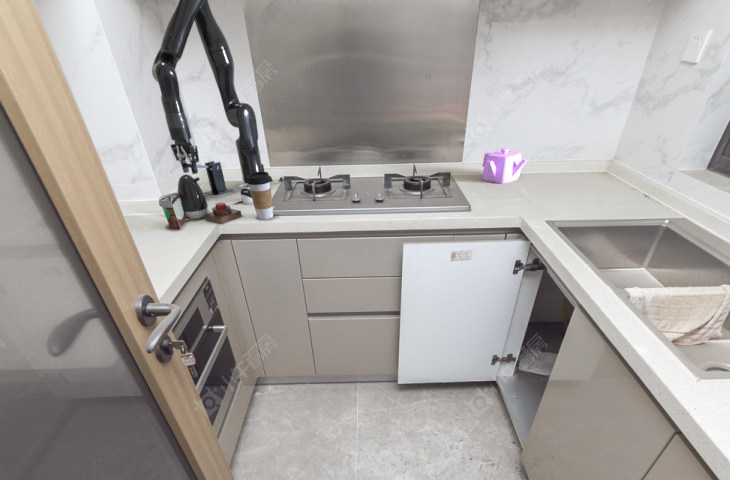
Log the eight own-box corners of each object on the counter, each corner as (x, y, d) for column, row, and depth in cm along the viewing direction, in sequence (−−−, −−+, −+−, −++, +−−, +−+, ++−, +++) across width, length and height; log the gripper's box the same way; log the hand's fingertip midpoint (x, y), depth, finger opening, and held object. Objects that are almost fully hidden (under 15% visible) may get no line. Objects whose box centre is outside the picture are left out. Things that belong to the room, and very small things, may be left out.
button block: (226, 213, 165) (223, 202, 163) (242, 216, 161) (239, 205, 159) (205, 220, 159) (202, 209, 157) (221, 224, 155) (218, 213, 152)
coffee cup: (280, 214, 162) (273, 171, 153) (269, 221, 156) (261, 177, 147) (261, 212, 164) (253, 170, 155) (249, 219, 158) (240, 176, 149)
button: (222, 206, 160) (220, 202, 159) (228, 208, 158) (227, 203, 157) (214, 209, 158) (213, 204, 157) (221, 210, 156) (219, 205, 155)
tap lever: (191, 169, 171) (191, 162, 170) (183, 168, 173) (183, 161, 172) (220, 171, 182) (219, 164, 181) (212, 169, 184) (212, 163, 183)
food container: (172, 220, 161) (163, 192, 154) (188, 219, 161) (180, 191, 155) (161, 231, 151) (152, 202, 145) (179, 230, 151) (170, 201, 145)
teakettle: (515, 174, 197) (519, 144, 190) (524, 183, 184) (530, 151, 176) (478, 175, 198) (481, 145, 190) (485, 184, 184) (489, 153, 177)
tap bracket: (217, 198, 183) (209, 165, 175) (205, 195, 187) (196, 164, 179) (234, 192, 190) (227, 161, 182) (222, 190, 193) (215, 159, 185)
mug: (240, 204, 174) (237, 187, 170) (245, 200, 179) (241, 183, 175) (264, 204, 173) (261, 187, 169) (268, 199, 178) (265, 182, 174)
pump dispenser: (202, 222, 158) (190, 178, 148) (177, 221, 160) (164, 177, 150) (215, 213, 165) (205, 171, 156) (192, 212, 167) (180, 171, 158)
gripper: (198, 125, 163) (209, 172, 173) (174, 123, 169) (187, 169, 179) (181, 127, 158) (194, 176, 168) (158, 126, 164) (172, 173, 175)
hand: (190, 172), depth 174 cm, fingers closed on tap lever, 5 cm apart
